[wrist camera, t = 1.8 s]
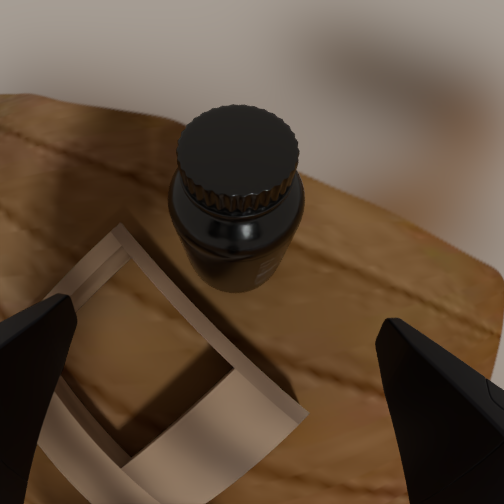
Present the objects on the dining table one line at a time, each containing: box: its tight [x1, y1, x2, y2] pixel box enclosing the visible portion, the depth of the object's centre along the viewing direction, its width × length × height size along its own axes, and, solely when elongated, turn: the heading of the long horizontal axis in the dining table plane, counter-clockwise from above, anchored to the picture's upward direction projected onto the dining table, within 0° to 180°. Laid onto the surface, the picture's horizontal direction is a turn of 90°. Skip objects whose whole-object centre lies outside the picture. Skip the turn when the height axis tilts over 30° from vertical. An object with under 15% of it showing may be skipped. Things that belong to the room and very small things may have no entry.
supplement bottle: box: [168, 104, 305, 293], centre depth 16 cm, size 7×7×12 cm
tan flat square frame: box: [37, 222, 310, 504], centre depth 16 cm, size 17×18×2 cm
